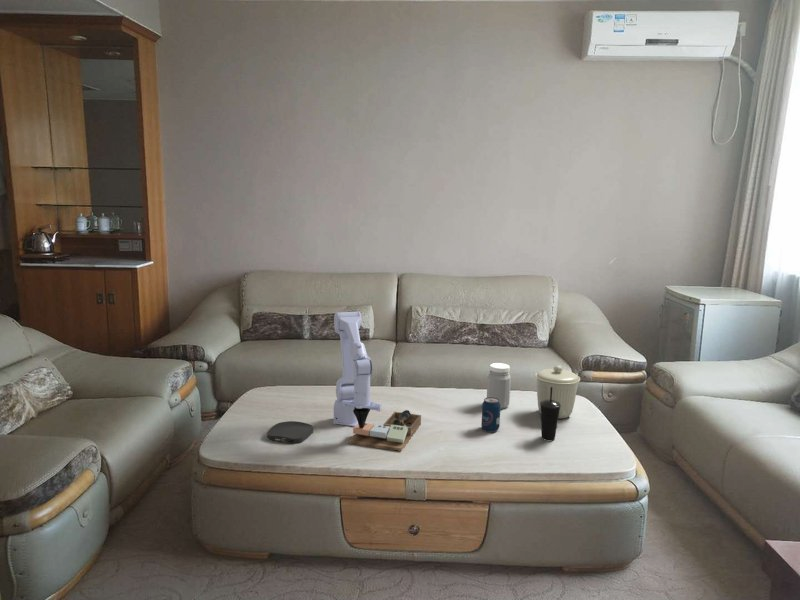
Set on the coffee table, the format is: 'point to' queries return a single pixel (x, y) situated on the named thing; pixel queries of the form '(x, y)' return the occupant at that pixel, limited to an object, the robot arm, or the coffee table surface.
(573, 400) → the canister
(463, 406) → the coffee table surface
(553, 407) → the drinking cup
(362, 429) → the tile
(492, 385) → the jar
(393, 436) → the tile
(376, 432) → the tile
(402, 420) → the eagle figurine
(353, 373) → the robot arm
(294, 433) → the media streaming box
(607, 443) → the coffee table surface
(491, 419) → the soda can
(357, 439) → the board
